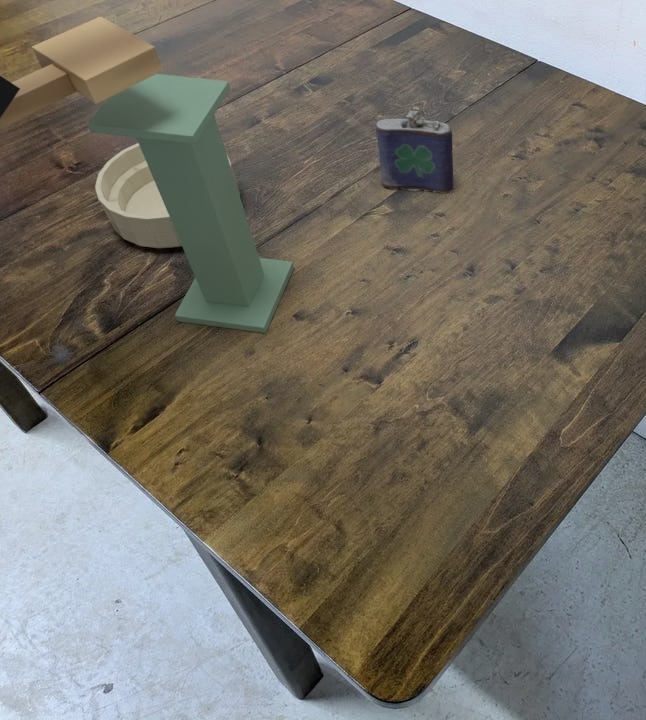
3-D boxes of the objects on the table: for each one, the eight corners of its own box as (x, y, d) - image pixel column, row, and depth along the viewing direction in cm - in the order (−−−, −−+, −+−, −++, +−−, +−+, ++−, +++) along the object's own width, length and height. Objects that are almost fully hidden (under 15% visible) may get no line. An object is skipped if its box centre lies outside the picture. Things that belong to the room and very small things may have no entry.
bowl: (91, 245, 85) (71, 209, 81) (146, 165, 94) (131, 129, 90) (214, 261, 84) (201, 225, 80) (258, 178, 93) (248, 142, 89)
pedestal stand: (177, 321, 78) (80, 123, 59) (211, 257, 84) (134, 57, 65) (265, 333, 78) (198, 136, 58) (294, 267, 84) (242, 69, 64)
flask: (380, 189, 92) (372, 115, 84) (384, 174, 94) (377, 100, 86) (452, 194, 92) (451, 121, 83) (455, 180, 94) (454, 106, 85)
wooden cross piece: (-115, 143, 50) (-134, 118, 49) (110, 39, 59) (100, 15, 57) (-64, 185, 48) (-82, 161, 46) (163, 70, 56) (155, 46, 55)
